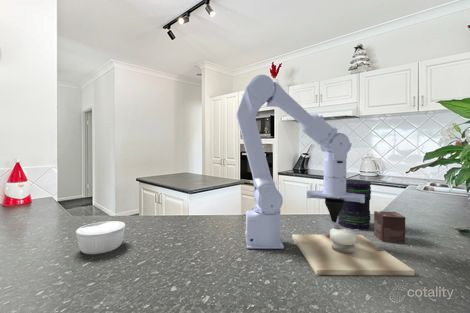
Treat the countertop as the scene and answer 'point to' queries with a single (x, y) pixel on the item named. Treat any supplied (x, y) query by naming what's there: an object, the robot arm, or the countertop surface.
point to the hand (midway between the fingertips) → (334, 225)
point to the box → (389, 226)
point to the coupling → (337, 232)
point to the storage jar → (356, 206)
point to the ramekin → (100, 237)
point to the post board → (348, 257)
